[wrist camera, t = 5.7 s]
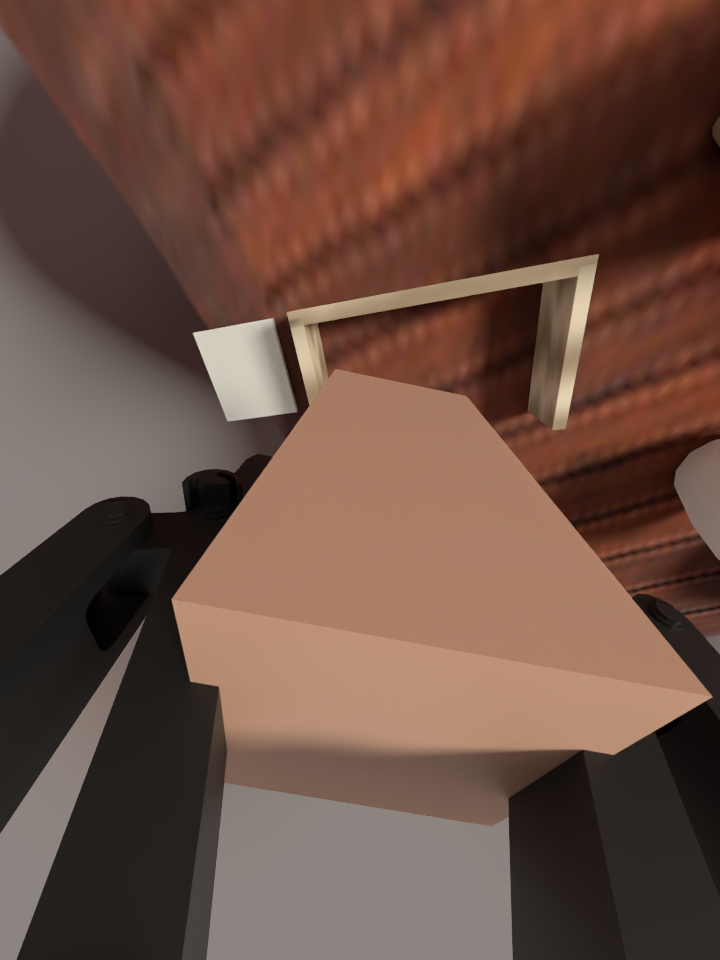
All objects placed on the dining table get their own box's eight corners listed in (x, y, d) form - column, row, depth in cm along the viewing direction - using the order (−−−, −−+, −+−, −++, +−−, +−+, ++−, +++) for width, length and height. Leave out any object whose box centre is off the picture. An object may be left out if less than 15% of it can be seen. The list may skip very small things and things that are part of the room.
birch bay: (303, 310, 31) (286, 312, 26) (559, 262, 28) (599, 253, 22) (330, 434, 38) (321, 456, 33) (538, 409, 34) (565, 428, 29)
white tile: (195, 332, 33) (192, 333, 32) (273, 318, 32) (271, 318, 31) (229, 419, 38) (227, 421, 37) (298, 410, 37) (296, 412, 36)
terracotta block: (335, 369, 13) (171, 598, 3) (466, 396, 14) (713, 696, 3) (320, 481, 17) (213, 781, 6) (427, 502, 17) (492, 826, 6)
